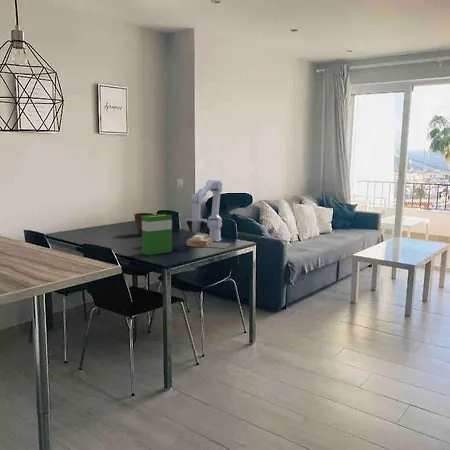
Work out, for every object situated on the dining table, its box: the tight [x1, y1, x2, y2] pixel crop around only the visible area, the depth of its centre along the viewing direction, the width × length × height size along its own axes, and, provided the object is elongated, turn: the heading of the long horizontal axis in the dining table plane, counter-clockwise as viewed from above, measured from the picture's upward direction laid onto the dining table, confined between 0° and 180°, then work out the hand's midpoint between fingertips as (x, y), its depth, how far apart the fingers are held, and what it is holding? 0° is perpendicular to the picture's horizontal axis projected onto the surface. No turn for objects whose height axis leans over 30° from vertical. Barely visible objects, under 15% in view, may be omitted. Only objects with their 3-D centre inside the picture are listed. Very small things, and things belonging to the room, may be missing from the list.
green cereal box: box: [141, 213, 173, 256], centre depth 303 cm, size 18×7×24 cm, turn 130°
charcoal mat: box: [206, 242, 232, 250], centre depth 328 cm, size 16×13×1 cm
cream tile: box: [192, 234, 206, 240], centre depth 331 cm, size 9×6×2 cm, turn 163°
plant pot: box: [133, 212, 155, 236], centre depth 367 cm, size 15×15×16 cm
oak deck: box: [186, 236, 214, 248], centre depth 332 cm, size 16×14×4 cm
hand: (196, 232), depth 324 cm, fingers open, 7 cm apart
